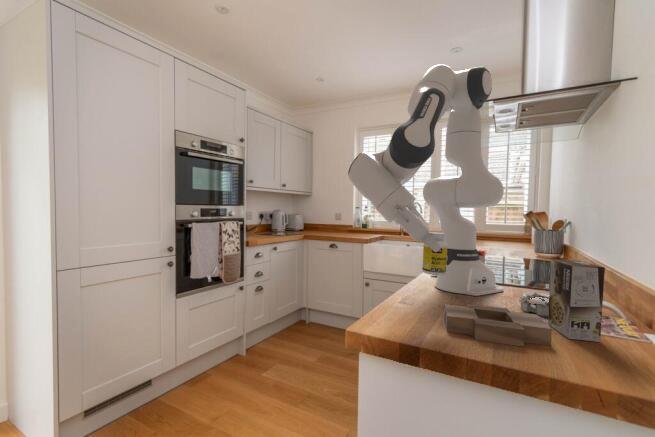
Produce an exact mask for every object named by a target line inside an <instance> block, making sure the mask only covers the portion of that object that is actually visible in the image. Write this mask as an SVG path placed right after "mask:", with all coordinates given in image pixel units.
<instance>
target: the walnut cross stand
mask: <svg viewBox="0 0 655 437" xmlns="http://www.w3.org/2000/svg"><path fill="white" fill-rule="evenodd" d="M466 304H467V306H464V305H455V304H447V303H445V304H444V314H443V315H444V316H443V318H444V323H445V329H446V332H447V333H454V334H455V333H456V334H464V335H472V336H473V338H474V340H475V341H483V342H489V343H495V344H502V345H503V344H504V345H511V346H517V347H525V343H527V344H535V345H542V346H550V347H551V346H552V334H553V333H552V332H553V329H552V327H551V326H550V325H548V323H546V322H545V321H544V320H543V319H542V318H541V316H540V315H537V313H529V312H517V311H510V310H509V309H508V307H500V306H499V307H498V306H489V305H481V304H474V303H472V304H471V303H466Z"/></svg>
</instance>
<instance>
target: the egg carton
mask: <svg viewBox="0 0 655 437" xmlns="http://www.w3.org/2000/svg"><path fill="white" fill-rule="evenodd" d="M535 297H542V298H547V299H549V296H545V295H541V294H539V293H537V292H534V293H532V294H528V295H526V296H523V297H522V296H519V300H518V301H519V302H520V309H521V310H522V311H523V312H525V313H529V312H530V313H533V314H536V315H538V316H545V317H549V302H548V303H547V302H545V304H536V305H532V304H531V303H529V300H530V298H531V299H532V298H535ZM539 299H541V298H539ZM541 300H542V301H545V300H544V299H541Z"/></svg>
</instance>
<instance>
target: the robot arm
mask: <svg viewBox="0 0 655 437" xmlns="http://www.w3.org/2000/svg"><path fill="white" fill-rule="evenodd" d="M492 88H493V80H492V76H491V73H490V71H489V70H488V69H487V68H486V67H484V66H476V67H475V66H474V67H471V68H469V69H465V70H459V71H454V69H453V68H451V67H450V66H448V65H446V64H437V65H434V66H431V67H430V68H429V69H427V71H426V72H425V73H424V74H423V76H422V77H421V78H420V79H419V81H418V82H417V84H416V85H415V88H414V90H413V92H412V93H411V96H410V99H409V101H408V107H407V112H408V115H409V116H410V117H409V119H408V120H406V121H405V122H404V123H402V124H401V125H400V126H398V127H397V128H396V129H395V130H394V132H393V134H392V136H391V138H390V141H389V143H388V145H387V147H386V149H384V150H382V151H377V152H367V151H362V152H361V153H358V155H357V156H355V158H353V161H352V163H351V164H350V166H349V169H348V171H347V175H348V178H349V180H350V182H351V183H352V184H353V186H354V187H355V189H356V190H358V192H359V193H360V194H361V195H362V197H364V198H365V199H366V200H368V201H369V202H371V204H372V205H373V207H374V209H375V210H376V211H377V212H378V213H379V215H381V216H382V218H383V219H384V220H385V221H386V222H387V223H388V224H391V223H392V222H394V223H395V224H396V225H400V226H401V228H403V230H404V231H405V232H406V234H408V235H409V236H410V237H411V238H412V239H413V240H414V241H415V242H420V241H421V242H423V244H424V243H425V244H427V245H428V246H429V247H430V248H431V249H432V250H433V251H434V252H437V251H439V250H440V249H441V247H440V245H439V244H438V243H437V242H436V241H435V240H434V239H433V238H432V236H431V235H430V234H429V232H431V231H430V226H429V224H428V223H427V221H426V220H425V218H424V217H423V216H422V215H421V213H420V212H419V210H418V209H417V208H418V207H417V206H416V205H415V204H414V202H415V201H416V197H415V196H414V195H413V194H412V193H411V192H410V191H409V190H408V189H407V188H406V187H405V186H404V185H405V184H406V183H408V182H409V181H410V180H411V179H412V178H413V177H414V176H415V175H416V173H417V172H418V171H419V170H420V169H421V167H422V166H423V165H424V164H425V163H426V162H427V161H428V160H429V159H431V157H432V156H433V154H434V152H435V149H436V148H435V147H436V140H435V130H436V129H435V128H436V125H437V124H438V123H439V121H440V120H441V119H442V117H443V116H444V115H445V113H446V112H449V114H448V118H447V124H446V133H445V134H446V135H445V151H444V152H445V153H444V157H445V159H446V161H447V162H449V163H450V165H454V166H455V167H458V168H460V170H461V175H453V176H452V175H450V176H439V177H436V178H435V177H434V178H431V179H428V180H427V181H426V182H425V184H424V186H423V190H422V197H423V200H424V201H425V203H426V204H427V205H428V206H429V207H431V209H433V211H434V212H435V214H436V215H437V218H438V219H439V222H440V227H441V229H440V230H441V232H440V233H445V238H444V242H445V243H446V244H447V262H446V274H444V275H437V277H436V281H435V283H434V287H435V288H437V289H439V290H441V291H445V292H448V293H455V294H463V295H469V296H473V297H474V296H475V297H476V296H484V295H490V294H494V293H501V292H504V288H503V287H502V286H500V285H498V284H496V275H495V273H494V271H493V270H492V269H490V267H489V266H487V265H486V264H485V263H483V261H482V260H481V259H480V258H481V257H486V255H487V251H486V250H481V249H479V250H478V249H477V226H476V225H475V224H474V222H472V221H471V220H470V219H467V218H466V217H464V216H463V215H462V214H461V212H460V211H461V209H484V208H490V207H491V208H492V207H495V206H497V205H498V204H499V203H500V202H501V200H502V199H503V198H504V197H503V196H504V193H505V192H504V190H505V189H504V185H503V183H502V181H501V180H500V179H499V178H498V177H497V176H495V175H494V174H493V173H491V171H490V170H488V168H487V167H486V165H485V164H484V160H483V157H482V118H481V115H482V114H481V110H480V109H482V107H483V106H484V103H486V102H487V100H488V99H489V97H490V95H491V93H492ZM480 256H481V257H480Z"/></svg>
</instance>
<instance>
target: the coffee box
mask: <svg viewBox="0 0 655 437" xmlns="http://www.w3.org/2000/svg"><path fill="white" fill-rule="evenodd" d="M605 270H606V267H605V266H600V265H596V264H592V263H589V262H585V261H581V260H574V259H573V260H571V259H560V260H559V259H550V276H549V295H548V297H549V316H547V317H548V319H547V320H548V322H547V325H548V326H549V327H550V328H553V329H554V330H556V331H557V332H559V333H560V334H561V335H563V336H564V337H566V338H567V339H569V340H576V341H577V340H578V341H586V342H587V341H588V342H597V343H600V342H601V332H602V321H603V302H604V290H605V289H604V287H605V285H604V284H605Z"/></svg>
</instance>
